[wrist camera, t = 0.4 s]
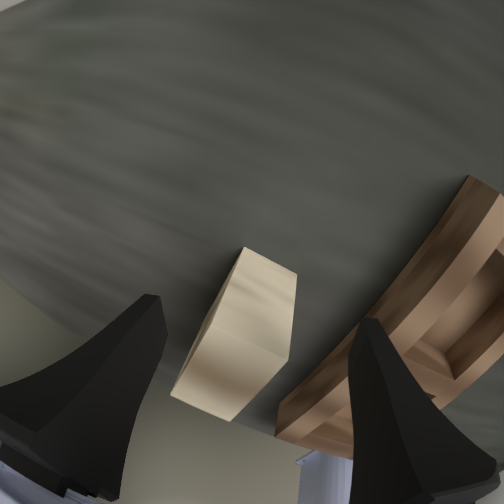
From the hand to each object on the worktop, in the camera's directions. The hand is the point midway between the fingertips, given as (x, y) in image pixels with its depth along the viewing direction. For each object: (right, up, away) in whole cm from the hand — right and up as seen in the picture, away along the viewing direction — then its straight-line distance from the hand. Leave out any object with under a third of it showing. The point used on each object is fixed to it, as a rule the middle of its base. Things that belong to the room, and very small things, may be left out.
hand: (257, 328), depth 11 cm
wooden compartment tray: (+12, -4, +11) cm, 17 cm away
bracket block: (-1, -1, +12) cm, 12 cm away
